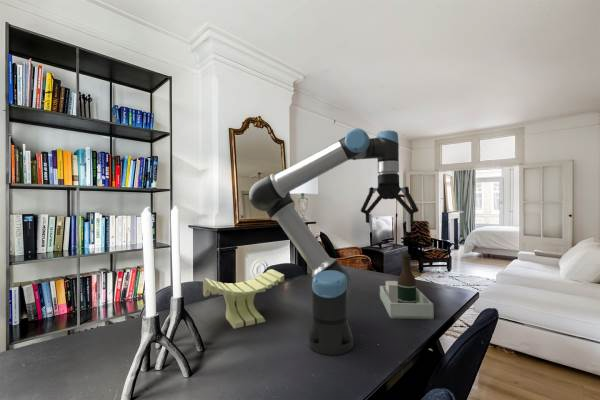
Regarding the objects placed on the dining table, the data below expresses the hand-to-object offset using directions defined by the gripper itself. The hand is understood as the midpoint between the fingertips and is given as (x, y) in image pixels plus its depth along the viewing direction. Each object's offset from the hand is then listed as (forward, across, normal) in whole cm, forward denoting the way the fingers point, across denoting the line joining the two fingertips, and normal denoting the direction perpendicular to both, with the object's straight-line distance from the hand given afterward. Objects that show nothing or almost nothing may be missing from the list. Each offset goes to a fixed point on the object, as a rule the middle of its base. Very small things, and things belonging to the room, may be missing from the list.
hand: (389, 232), depth 107 cm
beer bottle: (+36, -11, -21) cm, 43 cm away
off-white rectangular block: (+36, -11, -34) cm, 50 cm away
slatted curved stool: (+37, +58, -10) cm, 69 cm away
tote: (+37, -11, -27) cm, 47 cm away
